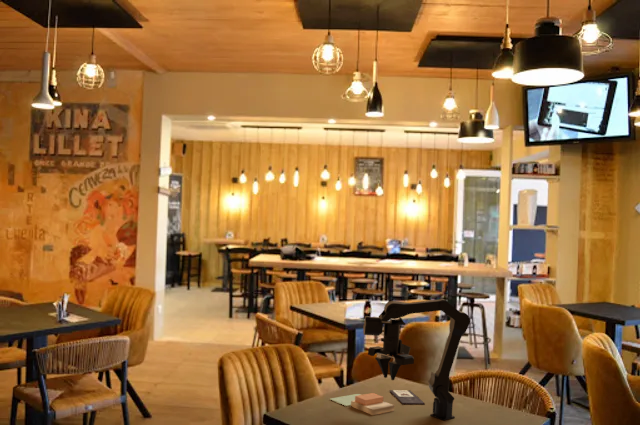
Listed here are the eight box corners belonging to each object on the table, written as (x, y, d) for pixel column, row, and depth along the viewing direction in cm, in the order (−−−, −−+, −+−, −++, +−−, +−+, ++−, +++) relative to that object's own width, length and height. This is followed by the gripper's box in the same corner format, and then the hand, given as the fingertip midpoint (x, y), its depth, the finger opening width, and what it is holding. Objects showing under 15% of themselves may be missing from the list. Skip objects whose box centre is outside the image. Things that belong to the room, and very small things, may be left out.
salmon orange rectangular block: (383, 402, 233) (383, 396, 233) (365, 405, 228) (365, 400, 228) (372, 398, 238) (372, 392, 238) (354, 401, 232) (355, 396, 232)
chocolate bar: (402, 403, 238) (389, 390, 256) (402, 405, 238) (389, 392, 256) (424, 403, 240) (410, 390, 258) (424, 405, 240) (410, 392, 258)
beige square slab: (394, 410, 230) (394, 405, 230) (372, 415, 223) (372, 409, 223) (372, 402, 239) (372, 397, 239) (350, 406, 232) (351, 401, 232)
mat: (375, 401, 241) (375, 400, 241) (346, 406, 232) (346, 405, 232) (358, 394, 249) (358, 393, 249) (329, 399, 239) (329, 398, 239)
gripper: (425, 339, 223) (423, 382, 223) (389, 330, 237) (387, 370, 237) (403, 341, 216) (401, 386, 216) (368, 332, 231) (365, 374, 230)
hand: (389, 378), depth 225 cm, fingers open, 3 cm apart
